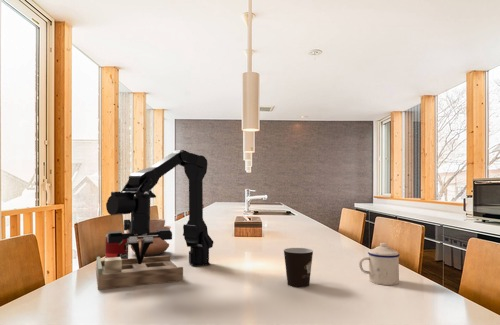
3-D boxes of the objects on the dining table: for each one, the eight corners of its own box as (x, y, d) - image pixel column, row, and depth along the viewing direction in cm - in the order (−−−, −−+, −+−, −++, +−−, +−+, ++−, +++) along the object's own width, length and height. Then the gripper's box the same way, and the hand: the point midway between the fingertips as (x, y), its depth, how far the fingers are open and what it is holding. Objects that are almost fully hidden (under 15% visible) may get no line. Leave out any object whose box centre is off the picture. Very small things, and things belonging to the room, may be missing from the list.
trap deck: (169, 266, 131) (169, 251, 131) (182, 280, 112) (183, 262, 113) (96, 273, 121) (96, 256, 121) (97, 289, 103) (98, 269, 103)
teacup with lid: (393, 278, 117) (393, 241, 118) (404, 286, 108) (403, 246, 109) (355, 277, 118) (355, 240, 118) (363, 285, 109) (362, 245, 109)
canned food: (120, 268, 128) (121, 236, 129) (100, 267, 130) (101, 235, 131) (132, 263, 136) (132, 233, 137) (112, 262, 138) (113, 232, 138)
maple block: (120, 271, 113) (120, 256, 113) (121, 275, 109) (121, 259, 109) (104, 273, 111) (104, 258, 111) (105, 276, 107) (105, 261, 107)
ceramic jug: (172, 250, 163) (172, 217, 163) (169, 256, 148) (168, 220, 149) (130, 251, 161) (130, 218, 161) (122, 258, 146) (122, 222, 147)
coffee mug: (294, 290, 103) (294, 254, 104) (278, 282, 111) (278, 249, 112) (327, 285, 109) (327, 250, 109) (309, 278, 116) (309, 246, 117)
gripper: (165, 210, 125) (165, 256, 124) (107, 211, 118) (105, 261, 117) (172, 212, 115) (172, 263, 114) (108, 214, 108) (107, 269, 107)
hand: (139, 263), depth 113 cm, fingers closed
